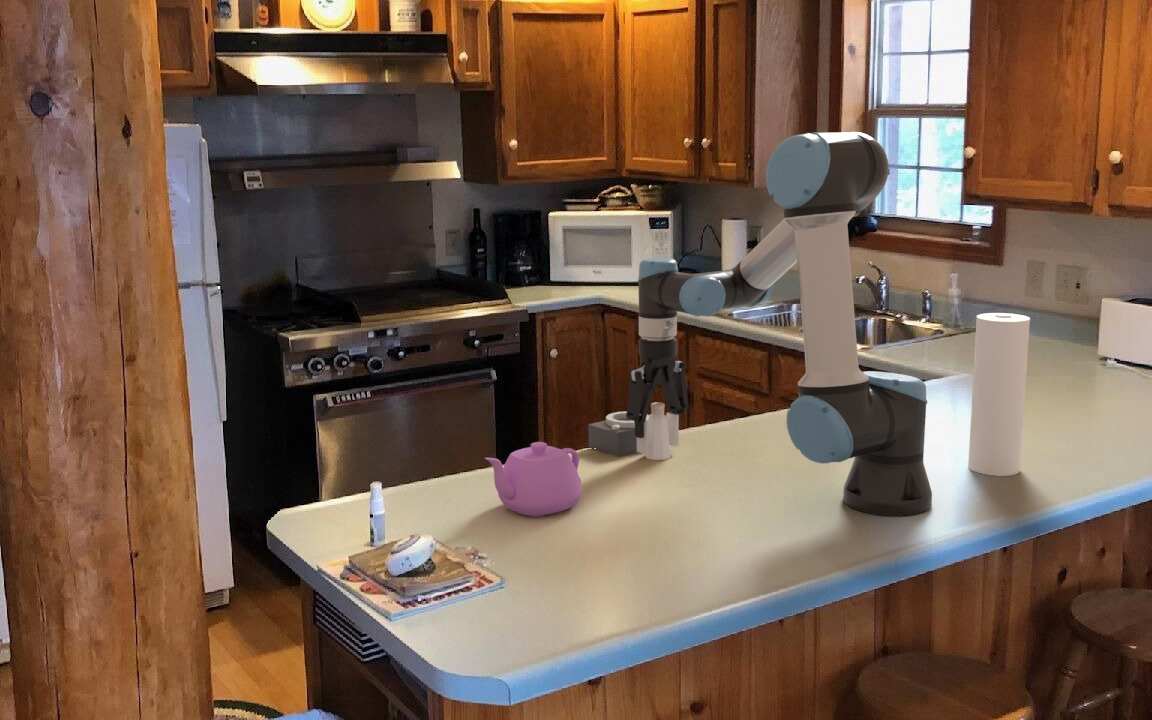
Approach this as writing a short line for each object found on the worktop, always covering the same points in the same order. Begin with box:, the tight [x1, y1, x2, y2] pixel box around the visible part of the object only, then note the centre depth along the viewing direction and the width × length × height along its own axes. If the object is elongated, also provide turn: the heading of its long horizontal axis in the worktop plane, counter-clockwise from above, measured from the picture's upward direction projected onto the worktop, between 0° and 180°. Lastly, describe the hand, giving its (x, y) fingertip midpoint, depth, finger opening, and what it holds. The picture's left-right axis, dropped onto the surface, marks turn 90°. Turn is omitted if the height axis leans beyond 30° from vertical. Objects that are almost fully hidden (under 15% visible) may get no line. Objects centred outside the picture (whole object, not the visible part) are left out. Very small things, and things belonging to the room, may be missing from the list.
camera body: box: [587, 411, 650, 458], centre depth 247 cm, size 14×9×6 cm, turn 130°
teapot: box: [484, 441, 582, 518], centre depth 208 cm, size 20×13×12 cm, turn 128°
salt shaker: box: [644, 402, 671, 461], centre depth 239 cm, size 5×5×11 cm
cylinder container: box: [967, 312, 1031, 477], centre depth 226 cm, size 9×9×30 cm
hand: (657, 448), depth 239 cm, fingers open, 8 cm apart
